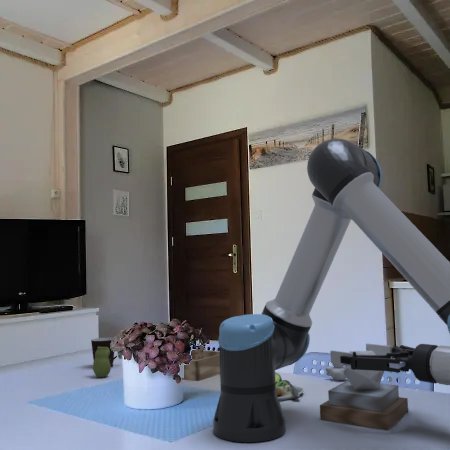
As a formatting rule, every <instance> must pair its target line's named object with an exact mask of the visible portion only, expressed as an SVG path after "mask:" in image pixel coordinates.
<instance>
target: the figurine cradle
mask: <svg viewBox="0 0 450 450" xmlns="http://www.w3.org/2000/svg"><path fill="white" fill-rule="evenodd" d="M201 356H202V359H200V360H193V354H192V360H191V362H190V364H188V365H184V379H183V380H187V381H188V380H189V381H196V382H199V381H202V380H205V379H208V378H212V377H214V376H215V377H216V376H218V375H220V352H219V350H216V351H215V350H207V349H205V350H204V349H203V354H201Z"/></svg>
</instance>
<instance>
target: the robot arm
mask: <svg viewBox="0 0 450 450" xmlns="http://www.w3.org/2000/svg"><path fill="white" fill-rule="evenodd" d="M377 160H378V159H376V157H374V155H373V153H371V152H369V151H367V150H366V149H364V148H362V147H361V146H358V145H356V144H355V143H353V142H351V141H350V140H347V139H343V138H331V139H326V140H324V141H322V142H321V143H318V145H317V146H315V148H313V150H312V151H311V153H310V154H309V157H308V160H307V165H306V171H307V175H308V178H309V181H310V183H311V185H313V187H314V189H313V192H312V193H311V197H312V200H313V203H314V207H313V209H312V211H311V214H310V215H309V218H308V220H307V223H306V225H305V228H304V230H303V232H302V235H301V237H300V239H299V241H298V245H297V247H296V248H295V251H294V254H293V256H292V258H291V261H290V263H289V265H288V268H287V270H286V272H285V275H284V277H283V279H282V282H281V284H280V285H279V289H278V291H277V293H276V296H275V298H274V299H272V300H268V301H266V303H265V305H264V307H263V310H262V312H261V314H259V313H258V314H257V313H253V314H252V313H250V314H248V313H247V314H243V315H237V316H232V317H229V318H227V319H225V320H223V321H222V322H221V323H220V325H219V329H218V330H219V331H218V332H219V334H218V335H219V336H218V341H217V342H218V345H219V346H218V347H219V349H218V351H219V352H220V374H219V378H220V379H219V381H220V382H219V383H220V396H219V399H218V402H217V404H216V409H215V412H214V416H213V420H212V426H213V428H212V430H213V434H214V435H215V436H216V437H218V438H221V439H222V440H226V441H231V442H236V443H237V442H238V443H259V442H267V441H271V440H274V439H277V438H280V437H281V436H283V435H284V434H285V433H286V429H287V428H286V426H287V424H286V417H285V415H284V412H283V408H282V405H281V404H280V402H279V400H278V397H277V394H276V383H275V373H276V371H277V370H279V369H282V368H285V367H289V366H291V365H293V364H296V363H297V362H298V361H300V359H302V357H304V356H305V354H306V353H307V351H308V348H309V346H310V343H311V342H310V341H311V336H310V329H311V328H312V325H313V321H312V318H311V315H310V314H311V311H312V308H313V307H314V304H315V303H316V300H317V297H318V295H319V292H320V290H321V289H322V286H323V284H324V282H325V279H326V277H327V275H328V272H330V271H329V270H330V268H331V266H332V263H333V261H334V259H335V257H336V255H337V252H338V250H339V248H340V246H341V243H342V241H343V239H344V236H345V234H346V231H347V229H348V227H349V225H350V223H351V221H353V222H354V224H355V225H356V226H357V227H358V228H359V229H360V230H361V231H362V233H364V234H365V235H366V237H367V238H368V239H369V240H370V241H371V243H373V245H374V246H376V247H377V249H378V250H379V251H380V252H381V253H382V254H383V256H384V257H385V258H386V259H387V260H388V261H389V262H390V263H391V265H392V266H394V268H395V269H396V270H397V271H398V273H400V275H402V276H403V278H405V280H406V281H407V282H408V283H409V284H410V286H411V287H412V288H413V289H414V290H415V291H416V292H417V293H418V294H419V296H420V297H421V298H422V300H424V301H425V302H426V303H427V304H428V305H429V307H430V308H431V310H432V311H434V313H436V314H437V315H438V317H439V319H440V320H441V321H442V322H443V323H444V324H445V325H446V326H447V331H448V333H449V334H450V261H449V260H448V259H447V258H446V256H444V255H443V253H441V252H440V251H439V249H438V248H437V247H435V245H434V244H433V243H432V242H431V241H430V240H429V239H428V238H427V237H426V235H424V234H423V233H422V232H421V231H420V230H419V229H418V228H417V226H416V225H415V224H413V222H412V221H411V220H410V219H409V218H408V217H407V216H406V215H405V214H404V213H403V212H402V211H401V210H400V209H399V208H398V207H397V206H396V205H395V204H394V202H393V201H392V200H390V199H389V197H388V196H387V195H386V194H385V193H384V192H383V191H382V190H381V185H382V181H383V172H382V168H381V166H380V164H379V161H377ZM365 351H373V352H374V353H375V354H376V355H357V354H356V352H353V353H349V352H346V351H340V350H339V351H338V350H330V351H329V353H330V364H332V363H333V364H339V365H344V366H345V365H346V366H351V369H352V370H373V371H384V372H391V373H396V374H397V373H401V372H407V373H408V372H410V371H412V373H413V376H414V377H415V378H416V379H417V380H418V381H419V382H422V383H428V384H429V383H430V384H439V385H442V386H443V385H444V386H450V345H437V344H427V343H419V344H418V345H416V347H413V346H412V347H411V346H407V345H403V344H402V345H399V346H397V345H393V346H392V345H387V344H386V345H385V344H376V343H365Z"/></svg>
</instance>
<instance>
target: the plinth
mask: <svg viewBox="0 0 450 450" xmlns="http://www.w3.org/2000/svg"><path fill="white" fill-rule="evenodd" d="M327 391H328V394H327V395H328V400H326V401H324V402H322V403H321V404H320V405H319V415H320V416H319V417H320V420H324V421H330V422H337V423H343V424H350V425H353V426H354V425H355V426H362V427H368V428H373V429H380V430H385V431H389V430H390V429H391V428H393V426H395V425H396V424H397V423H398V422H399V421H400V420H401V419H402V418H403V417H405V415H407V413H408V412H409V404H408V403H409V400H408V397H400V393H399V385H396V384H387V383H380V385H379V388H378V389H365V390H354V388H353V387H352V385H351V384H350V382H349V381H348V379H347V380H345V381H344V382H342V383H340V384H338V385H336V386H335V387H333V388H330V389H329V390H327Z"/></svg>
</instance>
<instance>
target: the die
mask: <svg viewBox="0 0 450 450" xmlns="http://www.w3.org/2000/svg"><path fill="white" fill-rule="evenodd" d="M353 352H356V354H357V355H376V354H375V353H374V352H373V351H366V350H356V351H355V350H353V351H351V350H350V351H349V352H348V353H353ZM343 373H344V375H345V376H346V378H345V379H347V380H348V381H349V382H350V384H351V385H352V387H353V388H354V390H365V389H378V388H379V385H380V384H381V381H382V379H383V375H384V374H385V371H373V370H352V369H351V366H346V365H344V371H343Z"/></svg>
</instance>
